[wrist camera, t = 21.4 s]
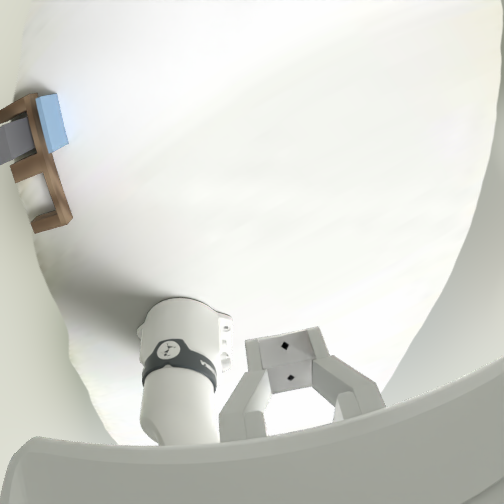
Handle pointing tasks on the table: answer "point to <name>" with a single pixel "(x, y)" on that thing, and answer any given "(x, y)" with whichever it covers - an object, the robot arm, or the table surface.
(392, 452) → the robot arm
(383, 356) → the table surface
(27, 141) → the plug
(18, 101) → the brown frame
